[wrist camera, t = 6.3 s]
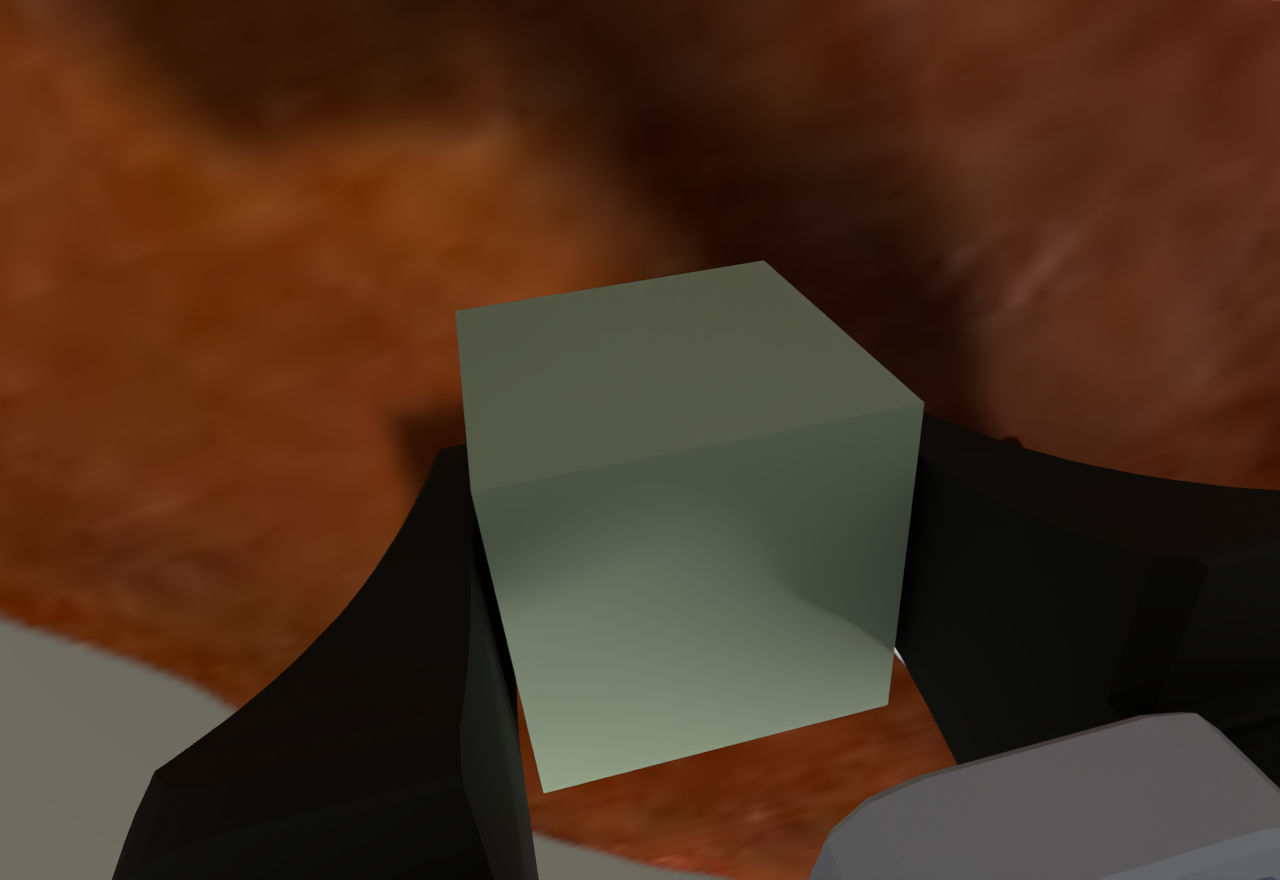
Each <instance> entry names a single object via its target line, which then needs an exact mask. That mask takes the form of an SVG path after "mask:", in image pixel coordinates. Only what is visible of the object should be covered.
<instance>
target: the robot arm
mask: <svg viewBox="0 0 1280 880" xmlns="http://www.w3.org/2000/svg"><path fill="white" fill-rule="evenodd" d="M894 653H895V654H896V655H897V657H898V658H899V659H900V660H901V661H902V662H903V663H904V665H905V666H906V667H907V669H908V671H909V673H910V675H911V676H912V678H913V680H914V682H915V684H916V686H917V687H918V689H919V691H920V693H921V695H922V697H923V698H924V700H925V702H926V704H927V706H928V708H929V710H930V712H931V714H932V716H933V718H934V719H935V721H936V723H937V725H938V727H939V729H940V731H941V733H942V735H943V737H944V739H945V741H946V743H947V745H948V747H949V749H950V751H951V753H952V755H953V757H954V759H955V761H956V763H957V766H953V767H949V768H946V769H942V770H938V771H935V772H931V773H927V774H924V775H920V776H917V777H914V778H912V779H910V780H908V781H905V782H903V783H901V784H899V785H896V786H894V787H892V788H889V789H887V790H885V791H883V792H880V793H878V794H876V795H874V796H871V797H869V798H867V799H866V800H865V801H864V802H863V803H861V804H860V805H859V806H858V807H857V808H856V809H855V810H853V811H852V812H851V813H850V814H849V815H848V816H846V817H845V818H844V819H843V820H842V821H841V822H839V823H838V824H837V825H836V826H835V827H834V828H833V829H831V830H830V832H829V834H828V837H827V839H826V841H825V843H824V846H823V848H822V850H821V852H820V854H819V857H818V859H817V861H816V863H815V866H814V868H813V870H812V873H811V875H810V880H1280V491H1279V490H1264V489H1250V488H1236V487H1226V486H1218V485H1210V484H1202V483H1194V482H1186V481H1178V480H1170V479H1164V478H1158V477H1151V476H1145V475H1139V474H1133V473H1128V472H1123V471H1118V470H1113V469H1108V468H1103V467H1098V466H1093V465H1088V464H1084V463H1079V462H1075V461H1071V460H1066V459H1062V458H1059V457H1055V456H1051V455H1048V454H1044V453H1040V452H1037V451H1033V450H1029V449H1026V448H1022V447H1019V446H1015V445H1012V444H1009V443H1006V442H1003V441H999V440H996V439H994V438H991V437H988V436H985V435H982V434H979V433H977V432H974V431H971V430H968V429H965V428H962V427H960V426H957V425H954V424H952V423H949V422H947V421H944V420H941V419H939V418H936V417H934V416H931V415H929V414H926V413H924V412H923V418H922V426H921V434H920V443H919V451H918V459H917V467H916V475H915V484H914V492H913V500H912V508H911V517H910V525H909V533H908V541H907V549H906V558H905V566H904V574H903V582H902V591H901V599H900V607H899V615H898V624H897V632H896V640H895V648H894ZM112 880H539V879H538V872H537V865H536V858H535V851H534V844H533V837H532V830H531V823H530V816H529V809H528V802H527V795H526V788H525V781H524V773H523V766H522V759H521V752H520V742H519V729H518V711H517V683H516V676H515V672H514V668H513V664H512V660H511V656H510V652H509V648H508V643H507V639H506V635H505V631H504V627H503V623H502V619H501V614H500V610H499V606H498V602H497V598H496V594H495V590H494V586H493V581H492V577H491V573H490V569H489V565H488V561H487V557H486V552H485V548H484V544H483V540H482V536H481V532H480V528H479V524H478V519H477V515H476V511H475V507H474V503H473V499H472V495H471V487H470V475H469V464H468V452H467V444H464V445H459V446H453V447H448V448H443V449H441V450H440V451H439V453H438V454H437V455H436V457H435V459H434V462H433V465H432V467H431V469H430V472H429V474H428V476H427V479H426V481H425V483H424V485H423V487H422V489H421V491H420V493H419V495H418V497H417V499H416V501H415V503H414V505H413V507H412V509H411V511H410V512H409V514H408V516H407V518H406V520H405V522H404V523H403V525H402V527H401V529H400V531H399V532H398V534H397V536H396V537H395V539H394V540H393V542H392V543H391V545H390V547H389V548H388V550H387V551H386V553H385V554H384V556H383V558H382V559H381V561H380V562H379V564H378V565H377V567H376V568H375V570H374V571H373V573H372V574H371V575H370V577H369V578H368V580H367V581H366V582H365V584H364V585H363V586H362V588H361V589H360V590H359V592H358V593H357V594H356V596H355V597H354V598H353V599H352V601H351V602H350V603H349V604H348V605H347V607H346V608H345V609H344V610H343V612H342V613H341V614H340V615H339V616H338V617H337V619H336V620H335V621H334V622H333V623H332V624H331V625H330V626H329V627H328V628H327V629H326V630H325V631H324V632H323V633H322V634H321V635H320V636H319V637H318V638H317V639H316V640H315V641H314V642H313V643H312V644H311V645H310V646H309V647H308V649H307V650H306V651H305V652H304V653H303V654H302V655H301V656H300V657H299V658H298V659H297V660H296V661H295V662H294V663H292V664H291V665H290V666H289V667H288V668H287V669H286V670H285V671H284V672H283V673H281V674H280V675H279V676H278V677H277V678H276V679H275V680H274V681H273V682H271V683H270V684H269V685H268V686H267V687H266V688H264V689H263V690H262V691H261V692H260V693H259V694H257V695H256V696H255V697H254V698H253V699H251V700H250V701H249V702H248V703H247V704H245V705H244V706H243V707H242V708H241V709H239V710H238V711H237V712H236V713H234V714H233V715H232V716H230V717H229V718H228V719H227V720H225V721H224V722H223V723H221V724H220V725H219V726H217V727H216V728H214V729H213V730H212V731H210V732H209V733H208V734H206V735H205V736H204V737H202V738H201V739H200V740H198V741H197V742H195V743H194V744H193V745H191V746H190V747H189V748H187V749H186V750H184V751H183V752H182V753H181V754H179V755H178V756H176V757H175V758H174V759H172V760H171V761H169V762H168V763H166V764H165V765H164V766H162V767H160V768H159V769H158V770H156V771H155V772H154V774H153V776H152V779H151V781H150V784H149V786H148V788H147V790H146V792H145V794H144V797H143V799H142V801H141V803H140V805H139V807H138V809H137V811H136V814H135V816H134V819H133V821H132V824H131V826H130V829H129V832H128V835H127V837H126V840H125V842H124V845H123V849H122V851H121V854H120V857H119V860H118V863H117V866H116V870H115V872H114V875H113V878H112Z"/></svg>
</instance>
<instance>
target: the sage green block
mask: <svg viewBox="0 0 1280 880" xmlns="http://www.w3.org/2000/svg"><path fill="white" fill-rule="evenodd" d="M455 313H456V324H457V336H458V347H459V359H460V371H461V382H462V394H463V406H464V417H465V429H466V440H467V452H468V464H469V475H470V487H471V495H472V499H473V503H474V507H475V511H476V515H477V519H478V524H479V528H480V532H481V536H482V540H483V544H484V548H485V552H486V557H487V561H488V565H489V569H490V573H491V577H492V581H493V586H494V590H495V594H496V598H497V602H498V606H499V610H500V614H501V619H502V623H503V627H504V631H505V635H506V639H507V643H508V648H509V652H510V656H511V660H512V664H513V668H514V672H515V676H516V681H517V685H518V689H519V693H520V697H521V701H522V705H523V709H524V714H525V718H526V722H527V726H528V730H529V734H530V738H531V743H532V747H533V751H534V755H535V759H536V763H537V767H538V771H539V776H540V780H541V784H542V788H543V792H544V793H547V792H551V791H555V790H558V789H562V788H566V787H570V786H574V785H578V784H582V783H586V782H589V781H593V780H597V779H601V778H605V777H609V776H613V775H617V774H621V773H624V772H628V771H632V770H636V769H640V768H644V767H648V766H652V765H656V764H659V763H663V762H667V761H671V760H675V759H679V758H683V757H687V756H691V755H694V754H698V753H702V752H706V751H710V750H714V749H718V748H722V747H725V746H729V745H733V744H737V743H741V742H745V741H749V740H753V739H757V738H760V737H764V736H768V735H772V734H776V733H780V732H784V731H788V730H792V729H795V728H799V727H803V726H807V725H811V724H815V723H819V722H823V721H826V720H830V719H834V718H838V717H842V716H846V715H850V714H854V713H858V712H861V711H865V710H869V709H873V708H877V707H881V706H885V705H888V698H889V689H890V681H891V673H892V665H893V656H894V648H895V640H896V632H897V624H898V615H899V607H900V599H901V591H902V582H903V574H904V566H905V558H906V549H907V541H908V533H909V525H910V517H911V508H912V500H913V492H914V484H915V475H916V467H917V459H918V451H919V443H920V434H921V426H922V418H923V410H924V402H923V401H922V400H921V399H920V398H919V397H917V396H916V395H915V394H914V393H913V392H912V391H911V390H910V389H908V388H907V387H906V386H905V385H904V384H903V383H902V382H901V381H899V380H898V379H897V378H896V377H895V376H894V375H893V374H891V373H890V372H889V371H888V370H887V369H886V368H885V367H884V366H882V365H881V364H880V363H879V362H878V361H877V360H876V359H875V358H873V357H872V356H871V355H870V354H869V353H868V352H867V351H866V350H864V349H863V348H862V347H861V346H860V345H859V344H858V343H856V342H855V341H854V340H853V339H852V338H851V337H850V336H849V335H847V334H846V333H845V332H844V331H843V330H842V329H841V328H840V327H838V326H837V325H836V324H835V323H834V322H833V321H832V320H831V319H829V318H828V317H827V316H826V315H825V314H824V313H823V312H821V311H820V310H819V309H818V308H817V307H816V306H815V305H814V304H812V303H811V302H810V301H809V300H808V299H807V298H806V297H805V296H803V295H802V294H801V293H800V292H799V291H798V290H797V289H795V288H794V287H793V286H792V285H791V284H790V283H789V282H788V281H786V280H785V279H784V278H783V277H782V276H781V275H780V274H779V273H777V272H776V271H775V270H774V269H773V268H772V267H771V266H770V265H768V264H767V263H766V262H765V261H758V262H752V263H746V264H740V265H733V266H727V267H721V268H715V269H709V270H703V271H697V272H691V273H685V274H679V275H672V276H666V277H660V278H654V279H648V280H642V281H636V282H630V283H624V284H618V285H612V286H605V287H599V288H593V289H587V290H581V291H575V292H569V293H563V294H557V295H551V296H545V297H538V298H532V299H526V300H520V301H514V302H508V303H502V304H496V305H490V306H484V307H478V308H471V309H465V310H459V311H455Z"/></svg>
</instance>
